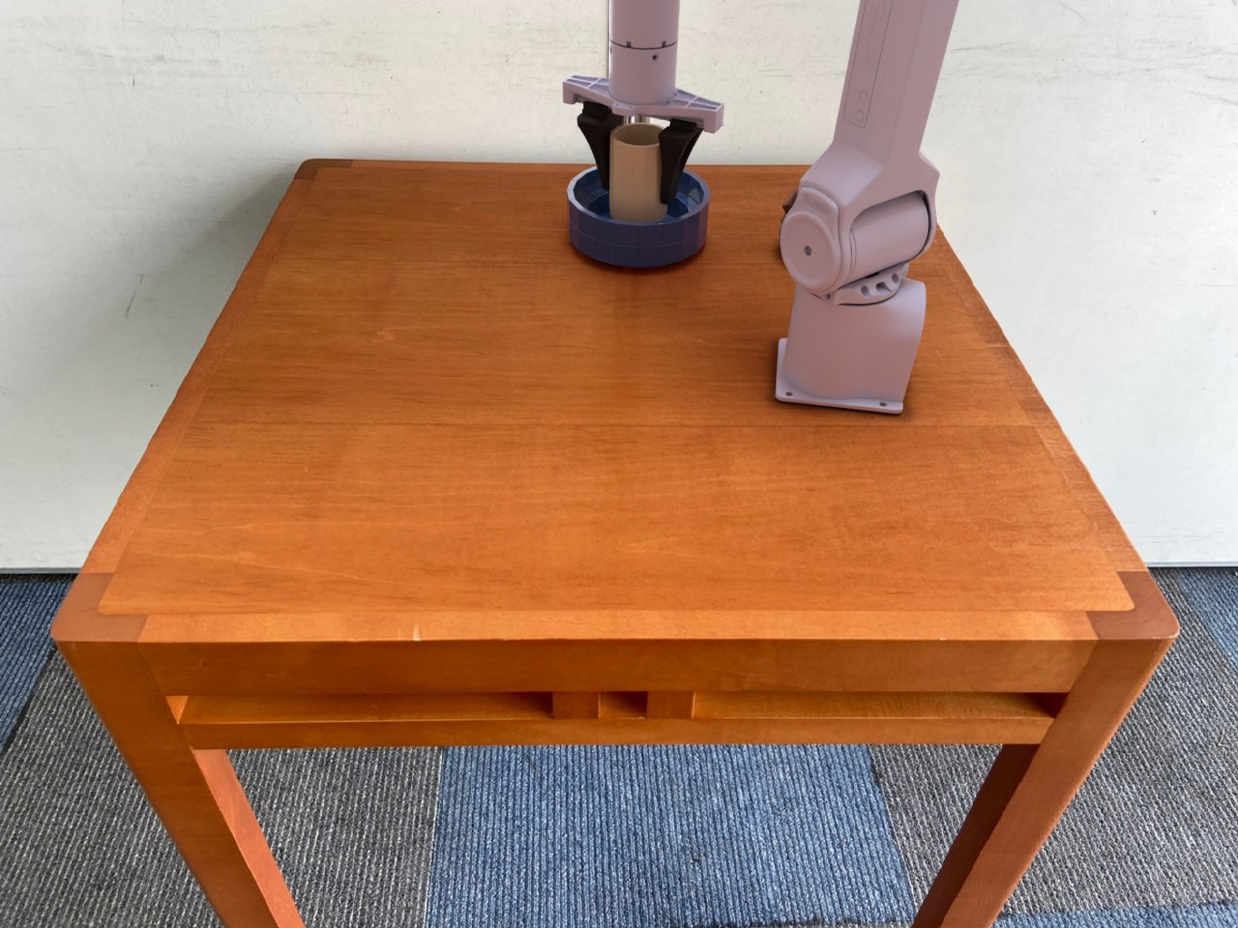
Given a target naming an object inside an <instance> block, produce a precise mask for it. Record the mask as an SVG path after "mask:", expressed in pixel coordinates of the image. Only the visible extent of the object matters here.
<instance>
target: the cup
mask: <svg viewBox="0 0 1238 928" xmlns="http://www.w3.org/2000/svg"><path fill="white" fill-rule="evenodd" d="M665 128H666V127H664V126H662V125H659V124H655V123H650V122H630V123H624V124H623V123H622V125H620V126H617V127H615V128H614V129H613V130H612V131H611V133H610V205H609V208H610V215H611V217H612V218H613V219H615V220H619V221H629V222H654V221H663V220H664V219H665V217H666V216H667V205H668V204H663V203H661V198H660V190H661V177H662V163H661V152H660V145H659V140H658V134H659V133H660V132H661V131H662V130H664V129H665Z"/></svg>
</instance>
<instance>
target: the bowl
mask: <svg viewBox="0 0 1238 928" xmlns="http://www.w3.org/2000/svg"><path fill="white" fill-rule="evenodd" d="M711 194H712V192H711V190H710V188H709V186H708V184H707V182H706V181H705V180H703V178H702V177H700V176H699V175H697V174H696V173H695V172H692V171H691V170H688V169H686V168H684V170H683V173H682V176H681V179H680V182H679V186H678V190H677V195H676V197H675V198H674V199H673V200H672V201H671V202H670V203H669V204H668V205H667V216H666V217H665V219H664V220H663V221H654V222H629V221H619V220H615V219H613V218H612V217H611V215H610V208H609V205H610V190H609V191H607V190H603V189H602V184H601V180H600V176H599V172H598V168H597V165H595V166H592V167H590V168H587V169H584V170H582V171H581V172H580V173H579V174H577V175H576V176H575V177H573V178H572V179H571V180H570V182H569V184H568V187H567V189H566V211H567V213H566V214H567V215H566V216H567V233H568V237H569V241H570V244H572V245H573V246H574V247H575V248H576V249H577V250H578V251H579V252H580V253H582V254H583V255H585V256H587V257H589V258H591V259H593V260H595V261H598V262H601V263H602V262H603V263H604V264H605V263H606V264H609V265H612V266H616V267H620V268H621V267H622V268H628V269H649V268H658V267H663V266H667V265H671V264H675V263H679V262H683V261H684V260H687V259H688V258H690V257H691V256H694V255H695V254H697V253H698V252H699V251H700V250H701V249H702V248H703V246H704V245H706V241H707V237H708V229H709V217H710V207H711Z"/></svg>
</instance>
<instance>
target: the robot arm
mask: <svg viewBox="0 0 1238 928" xmlns="http://www.w3.org/2000/svg"><path fill="white" fill-rule="evenodd" d="M959 2H960V0H859V5H858V8H857V15H856V20H855V24H854V30H853V35H852V40H851V46H850V50H849V55H848V60H847V66H846V70H845V71H846V72H845V77H844V82H843V85H842V86H843V87H842V92H841V96H840V101H839V106H838V111H837V117H836V122H835V127H834V131H833V137H832V142H831V143H830V144H829V146H828V147H827V148H826V149H825V150H824V152H823V153H822V154H821V155H819V157H818V158H817V160H816V161H815V162H813V164H812V165H811V166H810V167H809V168H808V169H807V171H806V172H805V173H804V174H803V176H802V177H801V178H800V180H799V184H798V186H799V189H798V194H797V198H796V201H795V203H794V205H793V207H792V208H791V209H790V211H789V212H788V213H787V215H786V216H785V219H784V221H783V224H782V227H781V233H780V243H779V247H780V246H781V248H780V253H781V257H782V261H783V263H784V266H785V268H786V270H787V272H788V273H789V276H790V279H791V280H792V281H794V282H795V283H796V284H795V290H794V295H793V302H792V308H791V312H790V313H791V314H790V320H789V326H788V331H787V337H782V338H780V339H779V340H778V344H777V361H776V376H775V377H776V379H775V396H774V397H775V399H777V400H778V401H780V402H788V403H797V404H804V405H805V404H806V405H814V406H815V405H816V406H823V407H834V408H842V409H851V410H858V411H859V410H860V411H868V412H869V411H870V412H879V413H888V414H895V415H897V414H901V413H902V412H903V410H904V398H905V396H906V392H907V388H908V384H909V382H910V379H911V374H912V371H913V368H914V364H915V361H916V358H917V353H918V350H919V346H920V343H921V339H922V336H923V335H922V334H923V330H924V324H925V319H926V311H927V289H926V284H925V283H924V282H923V281H920V280H916V279H912V278H909V277H907V276H908V271H909V267H910V264H911V261H913V260H916V259H919V258H920V257H922V256H923V255H924V254H925V253H926V252H927V251H928V250H929V248H930V247H931V246H932V243H933V242H934V240H935V236H936V233H937V227H938V223H937V222H938V217H937V208H936V192H937V187H938V182H939V179H940V177H941V173H940V171H939V170H938V168H937V167H936V166H935V165H934V163H933V162H932V161H931V160H930V159H929V158H928V157H927V156H926V155H925V154H924V153H922V152H921V146H922V141H923V138H924V134H925V131H926V126H927V123H928V120H929V116H930V112H931V108H932V105H933V100H934V96H935V93H936V90H937V86H938V82H939V78H940V74H941V70H942V67H943V63H944V59H945V54H946V52H947V49H948V44H949V41H950V36H951V32H952V29H953V25H954V21H955V19H956V13H957V10H958V7H959ZM680 8H681V0H608V77H604V76H603V77H602V76H589V75H588V76H586V75H579V74H573V73H572V74H571V75H570V76H568V77H567V78H565V79H564V80H562V103H563V104H565V105H572V106H573V105H576V104H577V103H578V104H582V109H581V112H580V114H578V115H577V116H576V124H577V128H579V130H580V131H581V134H582V135H583V137H584V138H585V141H586V142H587V144H588V146H589V149H590V152H591V153H592V156H593V159H594V161H595V164H596V165H595V166H597V168H598V172H599V176H600V180H601V184H602V189H603V190H607V191H609V190H610V133H611V131H612V130H613V129H614V128H615V127H617V126H620V125H623V121H624V117H626V118H634V117H636V116H641V117H647V118H650V119H656V120H661V121H665V122H666V121H667V122H669V125H668V126H666V127H664V128H665V129H664V130H662V131H661V132H660V133H659V134H658V140H659V145H660V152H661V163H662V177H661V190H660V198H661V203H663V204H669V203H670V202H671V201H672V200H673V199H674V198H675V197H676V195H677V190H678V186H679V182H680V179H681V176H682V173H683V170H684V169H685V167H686V165H687V163H688V160H689V158H690V155H691V153H692V152H693V149H694V147H695V145H696V143H697V142H698V140H699V138H700V136H701V135H702V134H703V132H704V133H709V134H713V135H714V134H715V133H717V132H718V131H719V130H720V129H721V128H722V127H723V124H724V114H725V103H724V102H721V101H716V100H711V99H709V98H705V97H704V96H703V97H702V96H700V95H697V94H694V93H692V92H689V91H687V90H684V89H682V88H679V87H677V86H676V83H677V82H676V81H677V65H678V64H677V63H678V46H679V45H678V44H679V29H680V27H679V26H680Z"/></svg>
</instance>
